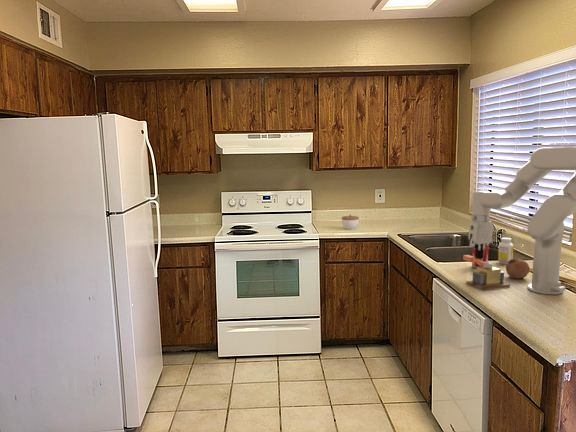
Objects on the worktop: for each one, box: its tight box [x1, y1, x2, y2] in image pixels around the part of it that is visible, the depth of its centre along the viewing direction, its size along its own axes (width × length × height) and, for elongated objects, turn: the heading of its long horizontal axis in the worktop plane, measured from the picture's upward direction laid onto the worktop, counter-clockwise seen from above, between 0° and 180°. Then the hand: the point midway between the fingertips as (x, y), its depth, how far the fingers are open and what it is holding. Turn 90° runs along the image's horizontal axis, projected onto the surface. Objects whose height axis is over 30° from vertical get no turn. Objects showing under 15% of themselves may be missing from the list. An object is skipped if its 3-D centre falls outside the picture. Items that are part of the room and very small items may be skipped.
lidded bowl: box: [341, 214, 360, 231], centre depth 335 cm, size 13×13×11 cm
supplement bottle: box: [498, 237, 514, 265], centre depth 227 cm, size 7×7×13 cm
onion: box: [505, 258, 531, 280], centre depth 201 cm, size 10×9×10 cm
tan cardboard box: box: [471, 266, 505, 286], centre depth 191 cm, size 6×12×7 cm, turn 106°
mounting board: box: [465, 280, 511, 292], centre depth 191 cm, size 10×14×1 cm
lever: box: [462, 254, 494, 268], centre depth 196 cm, size 17×3×2 cm, turn 16°
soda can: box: [471, 244, 490, 269], centre depth 220 cm, size 7×7×13 cm
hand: (479, 258), depth 203 cm, fingers closed
